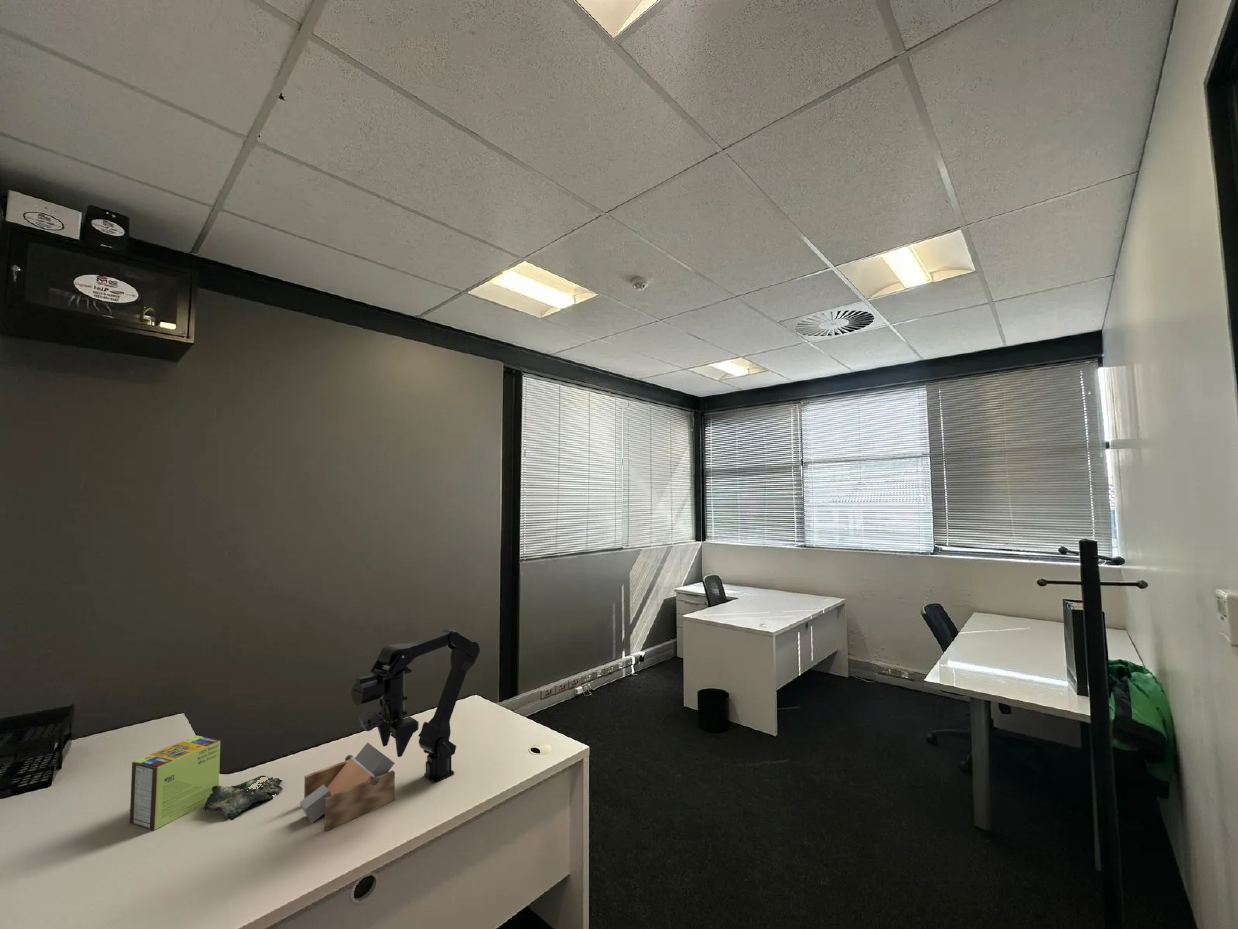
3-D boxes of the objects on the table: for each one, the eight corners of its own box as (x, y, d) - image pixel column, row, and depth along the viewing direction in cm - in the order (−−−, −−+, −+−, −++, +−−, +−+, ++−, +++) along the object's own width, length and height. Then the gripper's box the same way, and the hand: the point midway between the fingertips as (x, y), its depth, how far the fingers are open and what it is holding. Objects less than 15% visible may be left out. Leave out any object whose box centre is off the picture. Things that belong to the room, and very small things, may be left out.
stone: (323, 784, 135) (299, 802, 131) (329, 790, 132) (305, 809, 128) (329, 798, 136) (306, 816, 132) (335, 804, 133) (311, 823, 129)
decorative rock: (254, 765, 152) (298, 764, 149) (253, 787, 151) (298, 786, 148) (191, 797, 133) (241, 797, 131) (190, 822, 132) (240, 823, 130)
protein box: (219, 797, 142) (221, 739, 143) (153, 831, 127) (156, 767, 128) (194, 790, 145) (196, 734, 146) (127, 823, 130) (130, 761, 132)
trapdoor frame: (368, 777, 150) (368, 747, 151) (395, 801, 138) (395, 768, 139) (303, 803, 138) (304, 771, 138) (327, 832, 125) (327, 796, 126)
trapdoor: (375, 748, 150) (364, 740, 148) (396, 764, 141) (385, 756, 139) (333, 801, 141) (321, 794, 139) (352, 822, 132) (340, 814, 130)
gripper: (349, 693, 141) (348, 751, 139) (377, 711, 128) (376, 775, 127) (389, 682, 149) (388, 737, 148) (419, 698, 136) (419, 758, 135)
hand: (392, 751), depth 139 cm, fingers open, 9 cm apart
